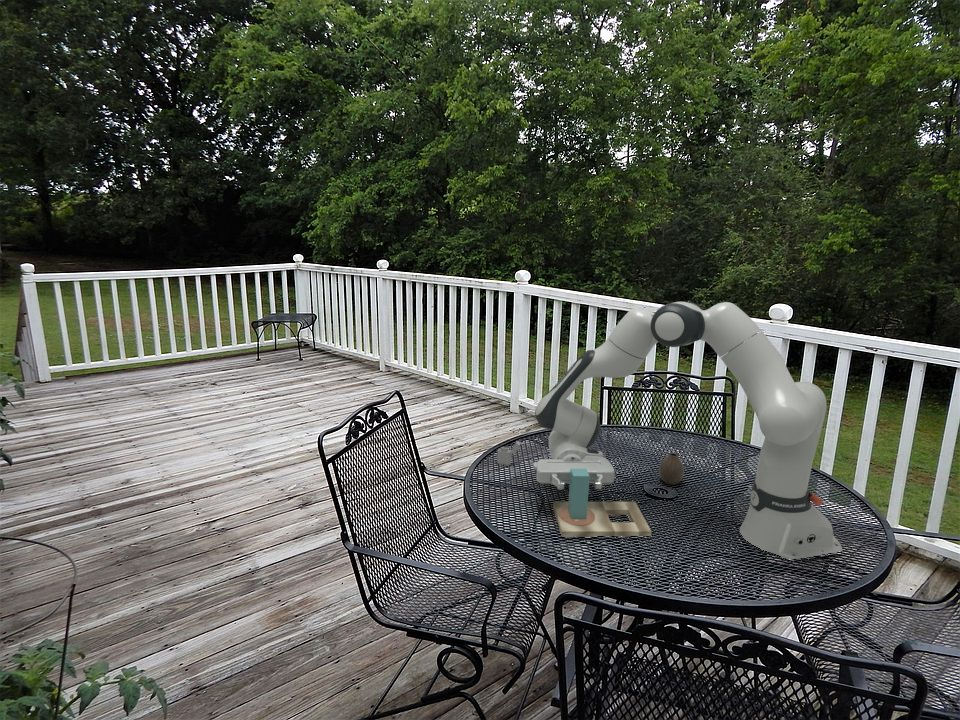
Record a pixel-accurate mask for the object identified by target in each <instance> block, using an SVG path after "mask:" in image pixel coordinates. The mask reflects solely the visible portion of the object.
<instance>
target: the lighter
mask: <svg viewBox="0 0 960 720" xmlns="http://www.w3.org/2000/svg"><path fill="white" fill-rule="evenodd" d="M521 444H522V442H521V441H520V440H517V441H516V443H514V446H513V447H512V449H511V450H510V449H509V448H508V447H507V446H502V447H500V448H498V449H497V453H496V454H497V457H496V459H497V460H496V464H499V465H506V466H510V465H511V464H512V455H514V456H515V454H516V453H517V451H518V449H519V447H520V445H521Z"/></svg>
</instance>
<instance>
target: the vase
mask: <svg viewBox="0 0 960 720" xmlns="http://www.w3.org/2000/svg"><path fill="white" fill-rule="evenodd" d="M684 467H685V466H684V463H683V462H682V461H681V459H680V457H679V455H678V453H676V452H670V453H668V455H667V456H666V457H665V458H664V459H663V460H662V461H661V462H660V465H659V469H658V473H659V478H660V479H661V480H662V482H664V483H665V484H667V485H673V486H675V485H677V484H679V483H680V482H682V480H683V477H684V474H685V468H684Z"/></svg>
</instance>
